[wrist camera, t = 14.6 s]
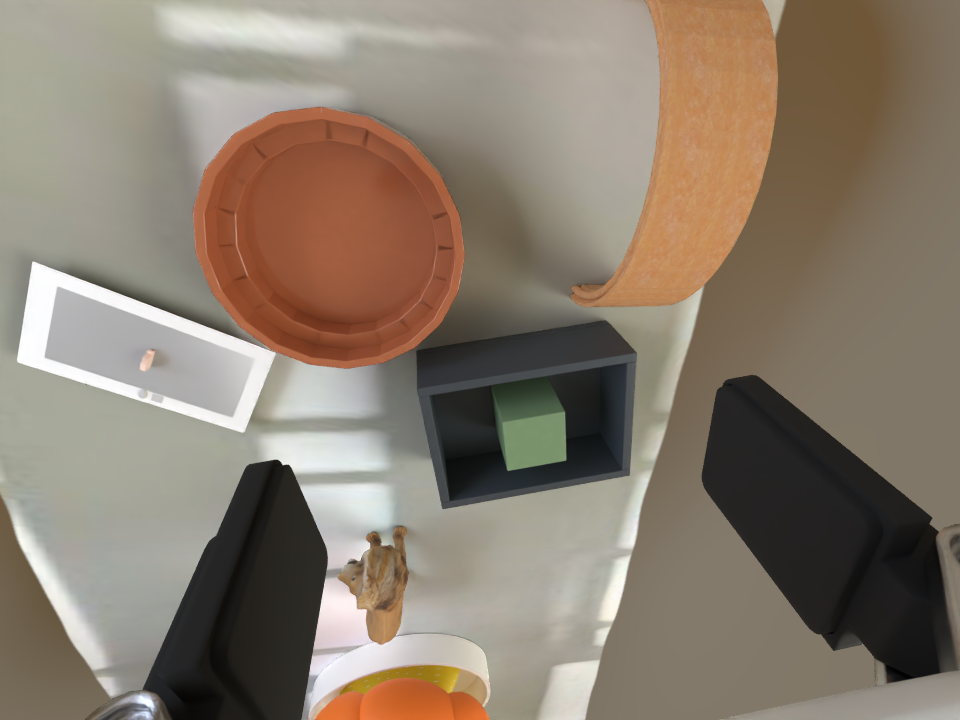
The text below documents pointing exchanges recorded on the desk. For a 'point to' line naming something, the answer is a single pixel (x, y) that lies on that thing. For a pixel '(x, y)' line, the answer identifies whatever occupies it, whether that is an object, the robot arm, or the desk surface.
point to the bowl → (329, 237)
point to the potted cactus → (405, 681)
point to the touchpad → (139, 350)
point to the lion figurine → (379, 584)
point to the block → (529, 423)
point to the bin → (553, 353)
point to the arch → (699, 149)
